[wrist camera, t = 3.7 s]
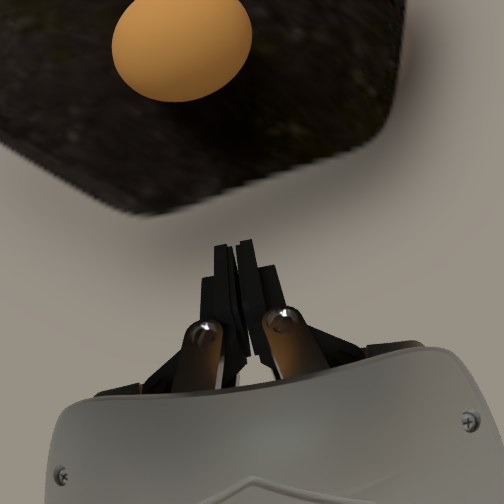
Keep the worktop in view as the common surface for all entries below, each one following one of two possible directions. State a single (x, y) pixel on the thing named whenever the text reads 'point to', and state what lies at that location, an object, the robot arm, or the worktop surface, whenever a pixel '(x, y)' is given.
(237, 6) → the ball
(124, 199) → the worktop surface
